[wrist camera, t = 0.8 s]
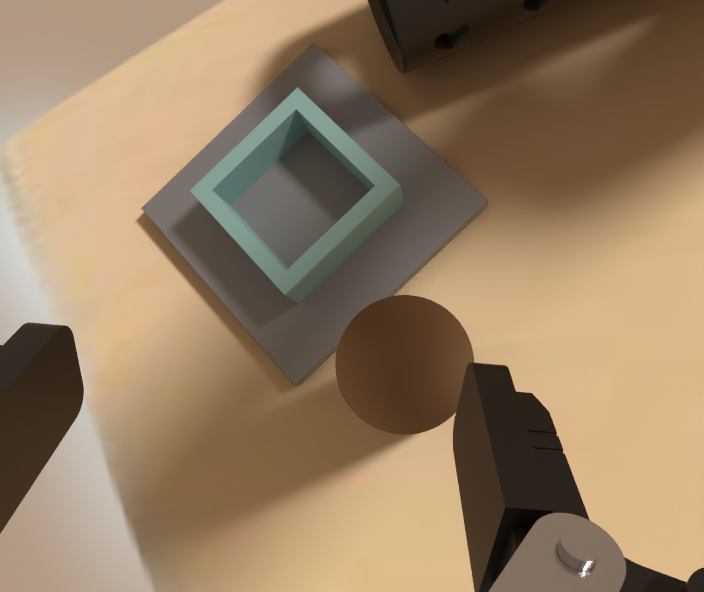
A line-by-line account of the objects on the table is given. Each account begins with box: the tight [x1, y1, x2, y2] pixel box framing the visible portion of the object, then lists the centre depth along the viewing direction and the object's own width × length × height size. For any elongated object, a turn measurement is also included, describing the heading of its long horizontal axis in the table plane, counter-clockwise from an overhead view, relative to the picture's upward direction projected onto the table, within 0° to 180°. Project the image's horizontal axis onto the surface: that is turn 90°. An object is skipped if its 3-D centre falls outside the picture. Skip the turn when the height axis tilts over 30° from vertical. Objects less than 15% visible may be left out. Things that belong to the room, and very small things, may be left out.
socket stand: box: [141, 43, 488, 386], centre depth 36 cm, size 16×16×4 cm
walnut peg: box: [336, 295, 474, 434], centre depth 28 cm, size 5×5×14 cm
